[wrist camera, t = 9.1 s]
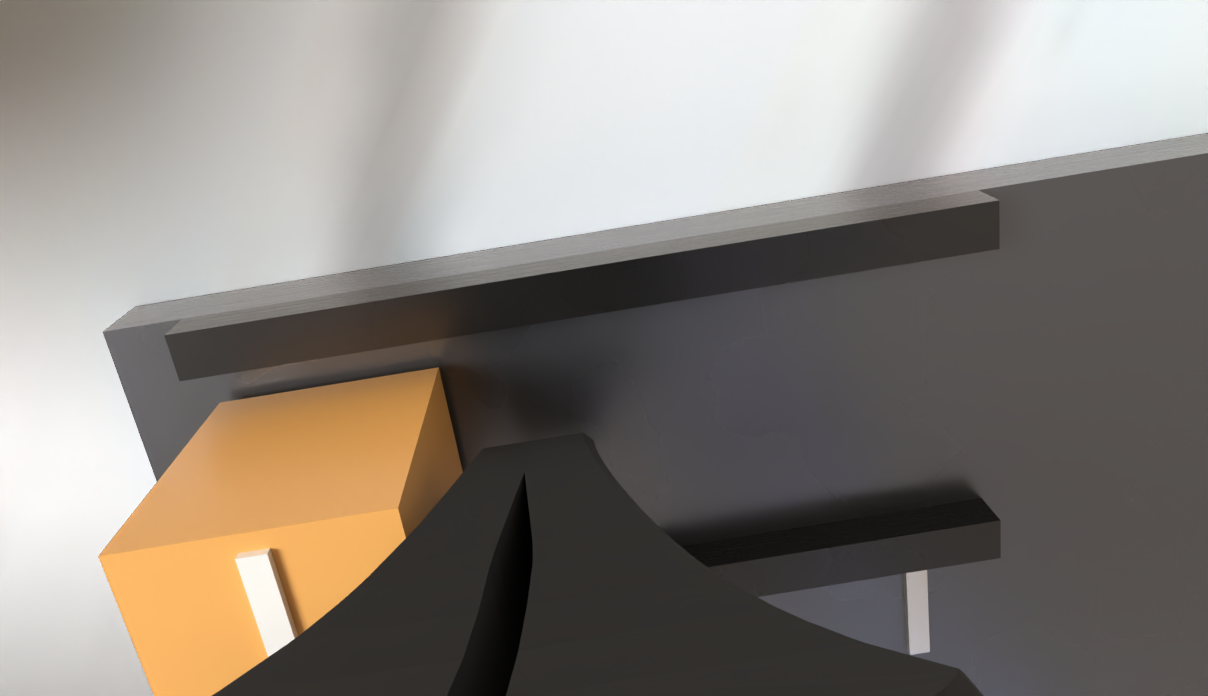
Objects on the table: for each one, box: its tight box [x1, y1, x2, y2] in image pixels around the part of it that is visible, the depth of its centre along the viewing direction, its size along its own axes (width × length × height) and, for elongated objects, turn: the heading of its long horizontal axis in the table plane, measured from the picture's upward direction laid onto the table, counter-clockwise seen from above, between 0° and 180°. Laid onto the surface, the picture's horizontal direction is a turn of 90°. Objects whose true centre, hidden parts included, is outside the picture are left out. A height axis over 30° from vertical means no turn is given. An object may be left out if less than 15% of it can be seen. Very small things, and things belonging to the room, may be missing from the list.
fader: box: [98, 367, 463, 696], centre depth 11 cm, size 3×3×4 cm
